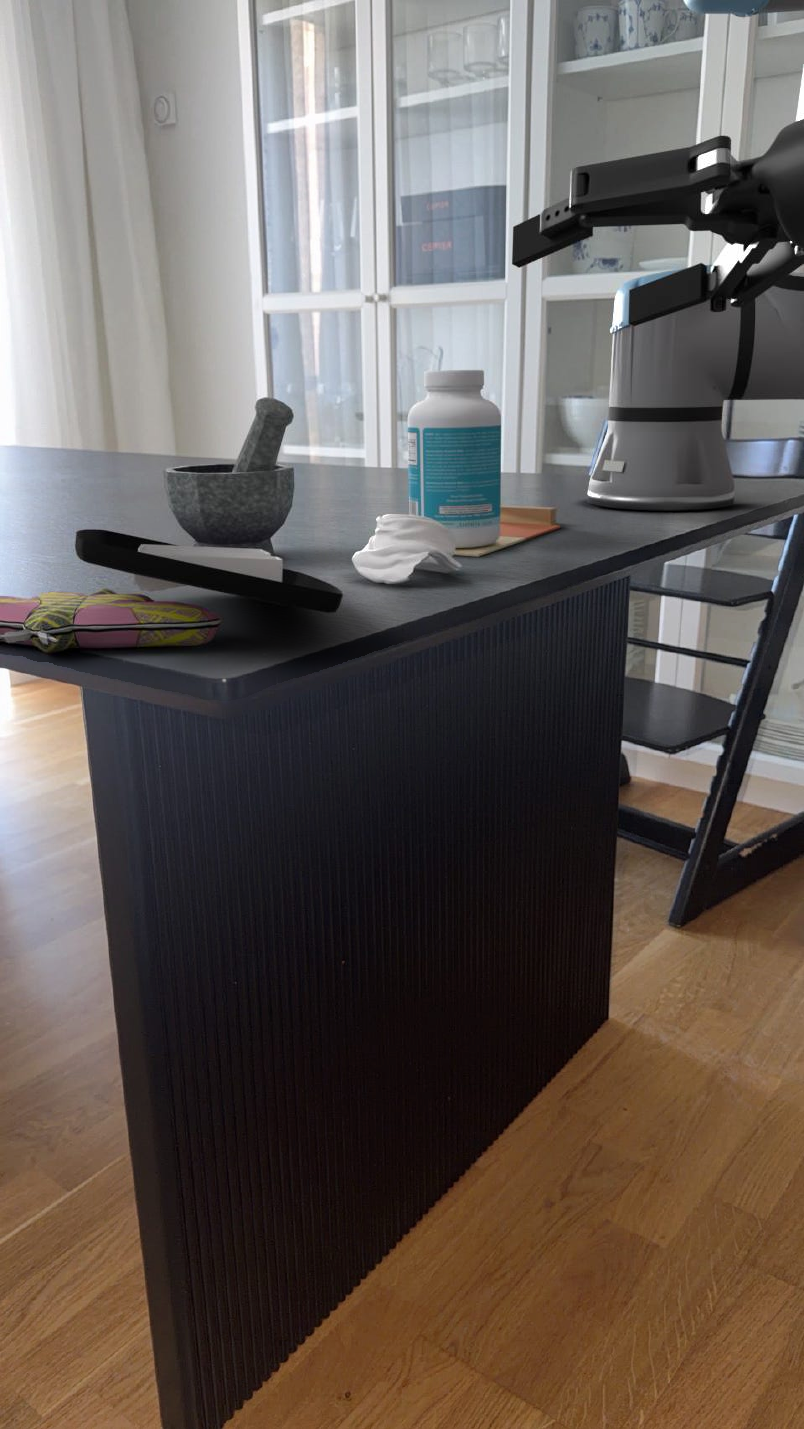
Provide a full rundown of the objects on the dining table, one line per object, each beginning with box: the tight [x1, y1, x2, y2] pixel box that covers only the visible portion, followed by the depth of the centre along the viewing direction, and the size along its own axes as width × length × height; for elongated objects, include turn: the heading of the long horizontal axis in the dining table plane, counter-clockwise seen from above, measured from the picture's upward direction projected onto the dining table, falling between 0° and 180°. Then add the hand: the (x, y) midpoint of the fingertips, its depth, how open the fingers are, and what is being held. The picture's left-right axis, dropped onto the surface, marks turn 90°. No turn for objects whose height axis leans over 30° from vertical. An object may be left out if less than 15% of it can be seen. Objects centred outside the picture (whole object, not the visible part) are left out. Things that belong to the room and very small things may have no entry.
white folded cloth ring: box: [351, 513, 463, 585], centre depth 73 cm, size 8×7×5 cm
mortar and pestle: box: [162, 396, 295, 557], centre depth 80 cm, size 11×9×12 cm
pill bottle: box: [407, 369, 502, 548], centre depth 85 cm, size 8×7×14 cm
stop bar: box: [500, 504, 558, 525], centre depth 99 cm, size 1×6×2 cm, turn 61°
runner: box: [453, 522, 562, 558], centre depth 91 cm, size 18×8×1 cm, turn 152°
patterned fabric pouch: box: [0, 588, 222, 654], centre depth 56 cm, size 17×2×10 cm
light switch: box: [74, 528, 344, 614], centre depth 59 cm, size 20×3×14 cm
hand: (576, 279), depth 80 cm, fingers open, 13 cm apart
